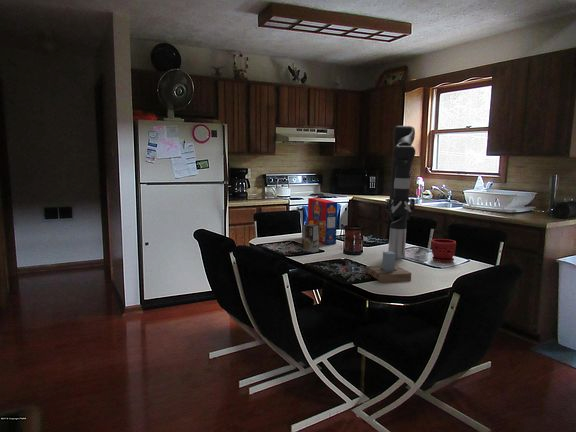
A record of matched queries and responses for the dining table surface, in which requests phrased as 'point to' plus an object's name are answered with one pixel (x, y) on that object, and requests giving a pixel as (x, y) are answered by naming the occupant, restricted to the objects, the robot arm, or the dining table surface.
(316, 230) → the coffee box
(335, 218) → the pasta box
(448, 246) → the plant pot
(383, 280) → the socket block
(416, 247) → the dining table surface
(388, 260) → the peg
